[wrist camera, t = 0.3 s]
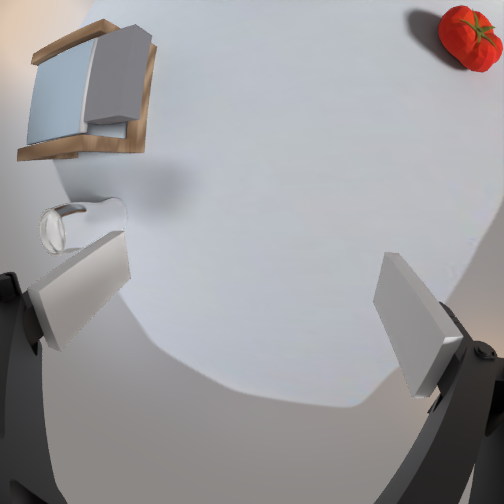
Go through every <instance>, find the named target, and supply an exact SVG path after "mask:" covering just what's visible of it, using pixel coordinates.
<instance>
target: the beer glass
mask: <svg viewBox="0 0 504 504" xmlns="http://www.w3.org/2000/svg"><path fill="white" fill-rule="evenodd" d="M127 221H128V212H127V208H126V206H125V204H124V203H123V202H122V201H121V200H120V199H118V198H109V199H107V200H105V201H103V202H100V203H92V202H72V203H66V204H63V205H59V206H56V207H53V208H50V209H46V210H45V211H44V212H43V213H42V215H41V217H40V220H39V236H40V240H41V243H42V245H43V247H44V249H45V250H46V251H47V253H48V254H50V255H51V256H55V257H57V256H60V255H63V254H67V253H71V252H74V251H77V250H79V249H81V248H84V247H86V246H87V245H89V244H91V243H92V242H94V241H95V240H97V239H98V238H100V237H101V236H103V235H105V234H107V233H110V232H112V231H122V230H123V229H124V228H125V226H126V224H127Z"/></svg>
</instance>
